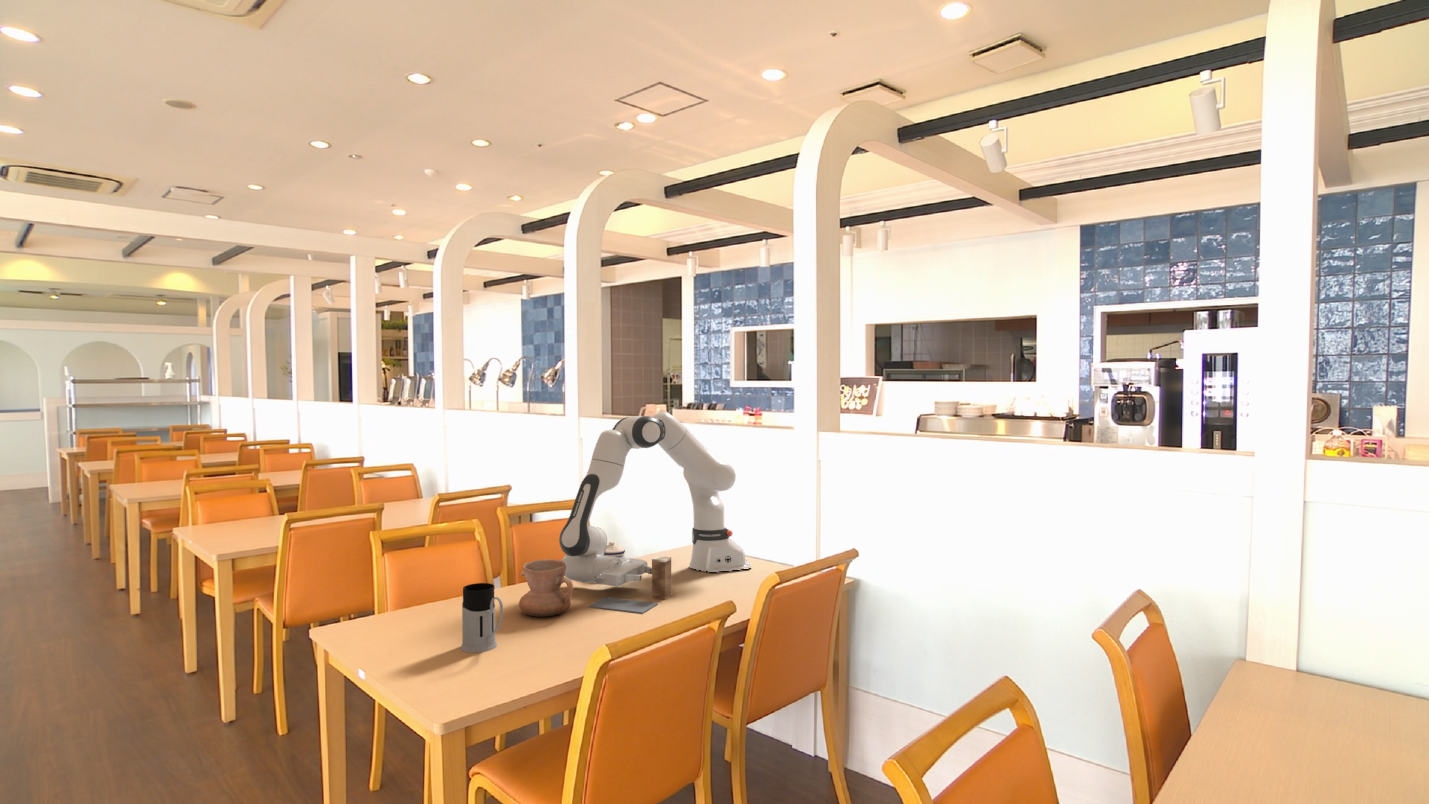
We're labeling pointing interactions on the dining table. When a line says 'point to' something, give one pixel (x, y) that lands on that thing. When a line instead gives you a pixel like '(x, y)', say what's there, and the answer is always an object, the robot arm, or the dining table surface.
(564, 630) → the dining table surface
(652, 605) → the rubber mat
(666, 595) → the walnut block
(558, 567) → the ceramic jug
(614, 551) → the teacup with lid
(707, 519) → the robot arm
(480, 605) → the glass holder
